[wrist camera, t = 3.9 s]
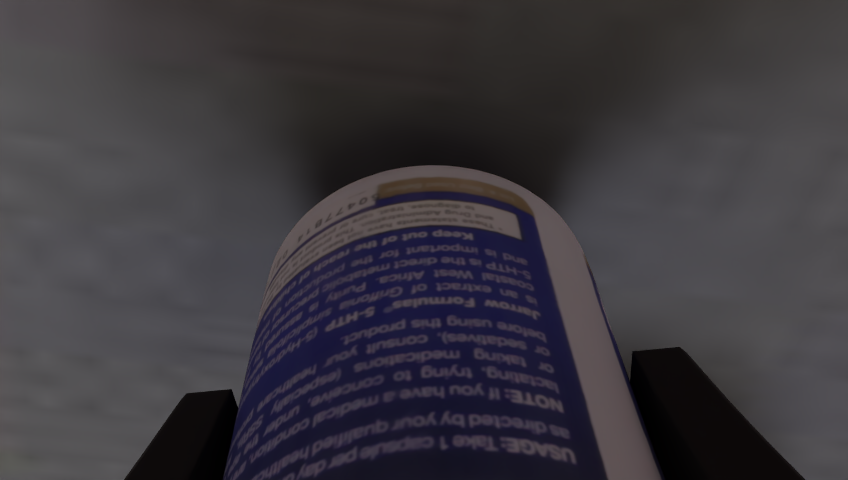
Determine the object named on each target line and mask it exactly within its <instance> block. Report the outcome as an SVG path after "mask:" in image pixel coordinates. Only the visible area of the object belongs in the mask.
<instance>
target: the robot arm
mask: <svg viewBox="0 0 848 480" xmlns="http://www.w3.org/2000/svg"><path fill="white" fill-rule="evenodd" d="M630 384H631V387H632V389H633V392H634V395H635V398H636V401H637V403H638V406H639V409H640V412H641V415H642V418H643V420H644V423H645V426H646V429H647V431H648V434H649V437H650V440H651V442H652V445H653V448H654V451H655V453H656V456H657V459H658V461H659V464H660V466H661V469H662V471H663V474H664V477H665V479H666V480H805V479H804V478H803V477H802V476H801V475H800V474H799V473H798V472H797V471H796V470H795V469H794V468H793V467H792V466H791V465H790V464H789V463H788V462H787V461H786V460H785V459H784V458H783V457H782V456H781V455H780V454H779V453H778V452H777V451H776V450H775V449H774V448H773V447H772V446H771V445H770V444H769V443H768V442H767V440H766V439H765V438H764V437H763V436H762V435H761V434H760V433H759V432H758V431H757V430H756V429H755V428H754V427H753V426H752V425H751V424H750V423H749V422H748V420H747V419H746V418H745V417H744V416H743V415H742V414H741V413H740V412H739V411H738V410H737V409H736V408H735V406H734V405H733V404H732V403H731V402H730V401H729V400H728V399H727V398H726V397H725V395H724V394H723V393H722V392H721V391H720V390H719V389H718V388H717V387H716V385H715V384H714V383H713V382H712V381H711V380H710V379H709V378H708V376H707V375H706V374H705V373H704V372H703V371H702V370H701V368H700V367H699V366H698V365H697V364H696V363H695V362H694V360H693V359H692V358H691V357H690V356H689V355H688V354H687V353H686V352H685V351H684V350H683V349H681V348H680V347H675V348H664V349H653V350H643V351H632V364H631V378H630ZM237 413H238V406H237V404H236V401H235V398H234V395H233V392H232V389H229V390H218V391H208V392H197V393H187V394H186V395H185V396H184V397H183V398H182V399H181V401H180V402H179V403H178V405H177V406H176V408H175V409H174V410H173V412H172V413H171V415H170V416H169V417H168V419H167V420H166V422H165V423H164V424H163V426H162V427H161V429H160V430H159V431H158V433H157V434H156V436H155V437H154V439H153V440H152V441H151V443H150V444H149V446H148V447H147V448H146V450H145V451H144V453H143V454H142V455H141V457H140V458H139V460H138V461H137V462H136V464H135V465H134V467H133V468H132V469H131V471H130V472H129V474H128V475H127V476H126V478H125V479H124V480H223V476H224V471H225V466H226V462H227V457H228V453H229V448H230V444H231V439H232V435H233V430H234V426H235V422H236V417H237Z"/></svg>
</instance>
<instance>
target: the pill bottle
mask: <svg viewBox="0 0 848 480" xmlns="http://www.w3.org/2000/svg"><path fill="white" fill-rule="evenodd" d="M223 480H666V479H665V477H664V474H663V471H662V469H661V466H660V464H659V461H658V459H657V456H656V453H655V451H654V448H653V445H652V442H651V440H650V437H649V434H648V431H647V429H646V426H645V423H644V420H643V418H642V415H641V412H640V409H639V406H638V403H637V401H636V398H635V395H634V392H633V389H632V387H631V384H630V381H629V378H628V375H627V372H626V369H625V367H624V364H623V361H622V358H621V355H620V353H619V350H618V347H617V344H616V341H615V338H614V335H613V332H612V329H611V326H610V323H609V321H608V318H607V315H606V312H605V309H604V306H603V303H602V300H601V297H600V294H599V291H598V288H597V286H596V283H595V280H594V277H593V274H592V271H591V269H590V267H589V264H588V262H587V259H586V257H585V254H584V252H583V250H582V248H581V246H580V244H579V242H578V241H577V239H576V237H575V236H574V234H573V232H572V231H571V229H570V228H569V227H568V225H567V224H566V223H565V221H564V220H563V219H562V218H561V217H560V215H559V214H558V213H557V212H556V211H555V210H554V209H553V208H552V207H551V206H549V205H548V204H547V203H546V202H545V201H544V200H542V199H541V198H539V197H538V196H536V195H535V194H533V193H532V192H530V191H529V190H527V189H525V188H523V187H522V186H520V185H518V184H516V183H513V182H511V181H509V180H507V179H505V178H502V177H499V176H496V175H493V174H490V173H486V172H483V171H479V170H475V169H469V168H463V167H455V166H444V165H424V166H411V167H404V168H398V169H393V170H388V171H384V172H380V173H377V174H374V175H371V176H368V177H365V178H362V179H360V180H357V181H355V182H353V183H350V184H348V185H346V186H345V187H343V188H341V189H339V190H337V191H336V192H334V193H332V194H331V195H329V196H328V197H326V198H325V199H323V200H322V201H321V202H319V203H318V204H317V205H315V206H314V207H313V208H312V209H311V210H309V211H308V212H307V213H306V214H305V215H304V216H303V217H302V218H301V219H300V220H299V221H298V222H297V224H296V225H295V226H294V227H293V229H292V230H291V231H290V232H289V234H288V235H287V236H286V238H285V240H284V242H283V243H282V245H281V247H280V248H279V250H278V252H277V254H276V257H275V259H274V262H273V264H272V267H271V270H270V273H269V277H268V282H267V285H266V289H265V293H264V297H263V301H262V306H261V310H260V315H259V319H258V324H257V328H256V333H255V338H254V341H253V345H252V350H251V354H250V359H249V363H248V368H247V372H246V377H245V381H244V386H243V390H242V395H241V399H240V404H239V408H238V413H237V417H236V422H235V426H234V430H233V435H232V439H231V444H230V448H229V453H228V457H227V462H226V466H225V471H224V476H223Z"/></svg>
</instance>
